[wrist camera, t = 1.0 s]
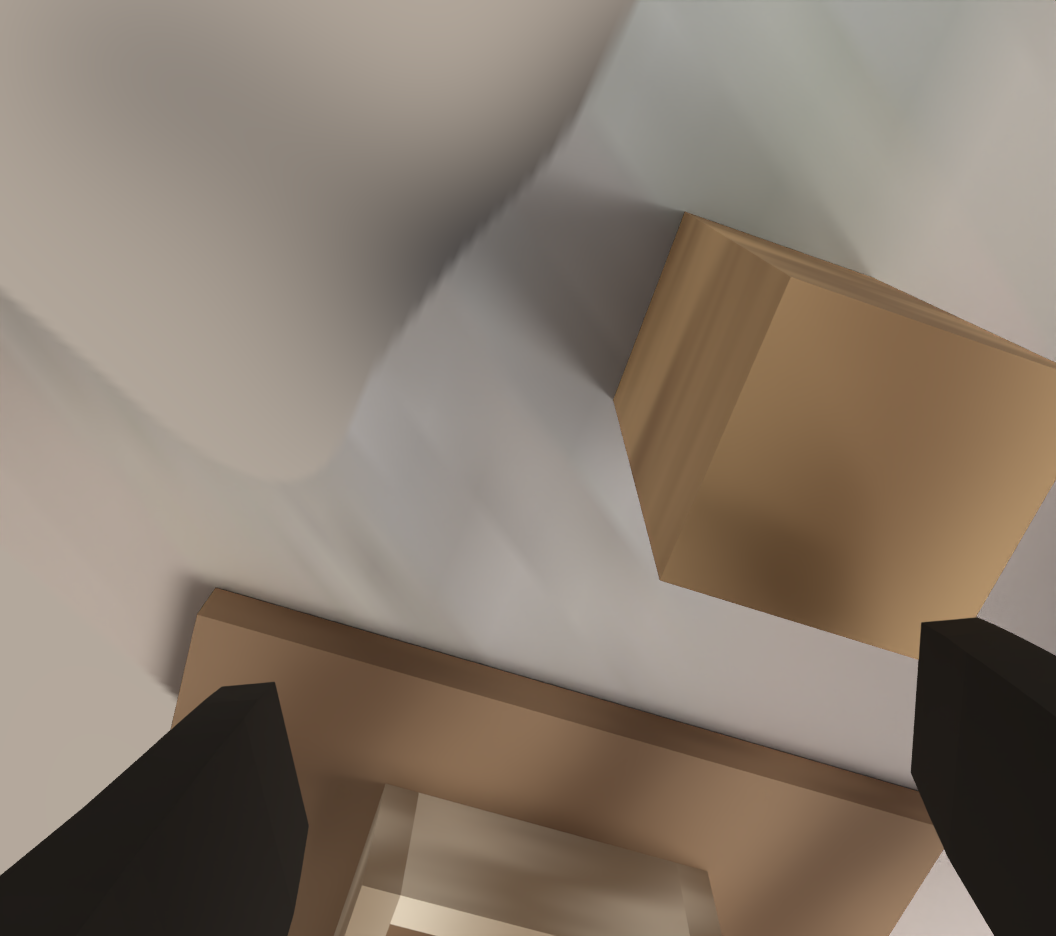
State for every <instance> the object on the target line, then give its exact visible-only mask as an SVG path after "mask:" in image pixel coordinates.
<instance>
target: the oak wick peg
mask: <svg viewBox="0 0 1056 936" xmlns="http://www.w3.org/2000/svg"><path fill="white" fill-rule="evenodd" d="M613 401H614V405H615V409H616V413H617V417H618V420H619V424H620V428H621V432H622V436H623V440H624V444H625V448H626V451H627V455H628V459H629V463H630V467H631V471H632V475H633V478H634V482H635V486H636V490H637V494H638V498H639V502H640V506H641V509H642V513H643V517H644V521H645V525H646V529H647V533H648V536H649V540H650V544H651V548H652V552H653V556H654V560H655V564H656V567H657V571H658V575H659V579H660V580H661V581H664V582H667V583H670V584H674V585H677V586H680V587H683V588H687V589H690V590H693V591H696V592H700V593H703V594H706V595H709V596H713V597H716V598H719V599H723V600H726V601H729V602H732V603H736V604H739V605H742V606H745V607H749V608H752V609H755V610H758V611H762V612H765V613H768V614H771V615H775V616H778V617H781V618H784V619H788V620H791V621H794V622H797V623H801V624H804V625H807V626H810V627H814V628H817V629H820V630H823V631H827V632H830V633H833V634H836V635H840V636H843V637H846V638H849V639H853V640H856V641H859V642H862V643H866V644H869V645H872V646H876V647H879V648H882V649H885V650H889V651H892V652H895V653H898V654H902V655H905V656H908V657H911V658H915V659H918V660H919V647H920V632H921V622H931V621H942V620H953V619H964V618H975V617H976V616H977V614H978V612H979V611H980V609H981V607H982V605H983V604H984V602H985V600H986V598H987V597H988V595H989V593H990V592H991V590H992V588H993V586H994V585H995V583H996V581H997V580H998V578H999V576H1000V574H1001V573H1002V571H1003V569H1004V568H1005V566H1006V564H1007V562H1008V561H1009V559H1010V557H1011V556H1012V554H1013V552H1014V550H1015V549H1016V547H1017V545H1018V543H1019V542H1020V540H1021V538H1022V537H1023V535H1024V533H1025V531H1026V530H1027V528H1028V526H1029V525H1030V523H1031V521H1032V519H1033V518H1034V516H1035V514H1036V513H1037V511H1038V509H1039V507H1040V506H1041V504H1042V502H1043V501H1044V499H1045V497H1046V495H1047V494H1048V492H1049V490H1050V488H1051V487H1052V485H1053V483H1054V482H1055V480H1056V363H1055V362H1053V361H1051V360H1049V359H1046V358H1044V357H1042V356H1040V355H1038V354H1036V353H1034V352H1031V351H1029V350H1027V349H1025V348H1023V347H1021V346H1019V345H1016V344H1014V343H1012V342H1010V341H1008V340H1006V339H1004V338H1001V337H999V336H997V335H995V334H993V333H991V332H988V331H986V330H984V329H982V328H980V327H978V326H976V325H973V324H971V323H969V322H967V321H965V320H963V319H961V318H958V317H956V316H954V315H952V314H950V313H948V312H946V311H943V310H941V309H939V308H937V307H935V306H933V305H931V304H928V303H926V302H924V301H922V300H920V299H918V298H915V297H913V296H911V295H909V294H907V293H905V292H903V291H900V290H898V289H896V288H894V287H892V286H890V285H888V284H885V283H883V282H881V281H879V280H877V279H875V278H872V277H869V276H867V275H864V274H861V273H858V272H855V271H852V270H850V269H847V268H844V267H841V266H838V265H835V264H832V263H830V262H827V261H824V260H821V259H818V258H815V257H813V256H810V255H807V254H804V253H801V252H798V251H795V250H793V249H790V248H787V247H784V246H781V245H778V244H776V243H773V242H770V241H767V240H764V239H761V238H758V237H756V236H753V235H750V234H747V233H744V232H741V231H739V230H736V229H733V228H730V227H727V226H724V225H721V224H719V223H716V222H713V221H710V220H707V219H704V218H702V217H699V216H696V215H693V214H690V213H687V212H685V213H684V215H683V218H682V221H681V223H680V226H679V228H678V231H677V234H676V236H675V239H674V242H673V244H672V247H671V249H670V252H669V255H668V257H667V260H666V263H665V265H664V268H663V270H662V273H661V276H660V278H659V281H658V284H657V286H656V289H655V291H654V294H653V297H652V299H651V302H650V305H649V307H648V310H647V312H646V315H645V318H644V320H643V323H642V326H641V328H640V331H639V334H638V336H637V339H636V341H635V344H634V347H633V349H632V352H631V355H630V357H629V360H628V362H627V365H626V368H625V370H624V373H623V376H622V378H621V381H620V383H619V386H618V389H617V391H616V394H615V397H614V399H613Z"/></svg>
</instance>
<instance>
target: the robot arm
mask: <svg viewBox="0 0 1056 936" xmlns="http://www.w3.org/2000/svg"><path fill="white" fill-rule="evenodd" d="M911 774H912V777H913V779H914V781H915V784H916V786H917V788H918V791H919V793H920V796H921V798H922V800H923V803H924V805H925V807H926V810H927V812H928V814H929V817H930V819H931V821H932V824H933V826H934V828H935V830H936V832H937V834H938V837H939V839H940V841H941V843H942V845H943V848H944V850H945V852H946V854H947V856H948V858H949V860H950V862H951V863H952V865H953V867H954V869H955V870H956V872H957V874H958V876H959V877H960V879H961V881H962V882H963V884H964V886H965V887H966V889H967V891H968V892H969V894H970V896H971V897H972V899H973V901H974V903H975V904H976V906H977V908H978V909H979V911H980V913H981V914H982V916H983V918H984V919H985V921H986V923H987V924H988V926H989V928H990V929H991V931H992V933H993V934H994V936H1056V656H1055V655H1053V654H1051V653H1049V652H1048V651H1046V650H1044V649H1042V648H1040V647H1038V646H1036V645H1034V644H1032V643H1030V642H1028V641H1026V640H1024V639H1022V638H1021V637H1019V636H1017V635H1015V634H1013V633H1011V632H1008V631H1006V630H1004V629H1002V628H1000V627H998V626H996V625H994V624H992V623H989V622H987V621H985V620H982V619H980V618H978V617H975V618H964V619H953V620H942V621H931V622H921V632H920V647H919V661H918V676H917V690H916V705H915V720H914V734H913V749H912V763H911ZM308 828H309V824H308V820H307V816H306V812H305V807H304V803H303V799H302V795H301V790H300V786H299V782H298V778H297V773H296V769H295V765H294V761H293V756H292V752H291V748H290V744H289V739H288V735H287V731H286V727H285V722H284V718H283V714H282V710H281V705H280V701H279V697H278V693H277V688H276V684H275V682H266V683H255V684H244V685H233V686H223V687H220V688H219V689H218V690H217V691H215V692H214V693H213V694H211V695H210V696H209V697H208V698H206V699H205V700H204V701H203V702H202V703H200V704H199V705H198V706H197V707H196V708H195V709H194V710H192V711H191V712H190V713H189V714H188V715H187V716H186V717H184V718H183V719H182V720H181V721H180V722H179V723H178V724H177V725H176V726H174V727H173V728H172V729H171V730H170V731H169V732H168V733H167V734H166V735H164V736H163V737H162V738H161V739H160V740H159V741H158V742H157V743H156V744H154V745H153V746H152V747H151V748H150V749H149V750H148V751H147V752H146V753H144V754H143V756H141V757H140V758H139V759H138V760H137V761H135V762H134V763H133V764H132V765H131V766H130V767H129V768H128V769H126V770H125V771H124V772H123V773H122V774H121V775H120V776H118V777H117V778H116V779H115V780H114V781H113V782H112V783H111V784H109V785H108V786H107V787H106V788H105V789H104V790H103V791H102V792H100V793H99V794H98V795H97V796H96V797H95V798H94V799H92V800H91V801H90V802H89V803H88V804H87V805H86V806H85V807H83V808H82V809H81V810H80V811H79V812H77V813H76V814H75V815H74V816H72V817H71V818H70V819H69V820H68V821H66V822H65V823H64V824H63V825H62V826H60V827H59V828H58V829H57V830H55V831H54V832H53V833H52V834H51V835H49V836H48V837H47V838H46V839H44V840H43V841H42V842H41V843H40V844H38V845H37V846H36V847H35V848H33V849H32V850H31V851H30V852H29V853H27V854H26V855H25V856H24V857H22V858H21V859H20V860H19V861H18V862H16V863H15V864H14V865H13V866H12V867H10V868H9V869H8V870H7V871H5V872H4V873H3V874H2V875H0V936H288V933H289V929H290V926H291V922H292V919H293V915H294V911H295V905H296V900H297V894H298V889H299V883H300V878H301V872H302V866H303V860H304V853H305V847H306V841H307V834H308Z"/></svg>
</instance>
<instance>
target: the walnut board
mask: <svg viewBox="0 0 1056 936" xmlns="http://www.w3.org/2000/svg"><path fill="white" fill-rule="evenodd" d="M266 682H275V684H276V688H277V693H278V697H279V701H280V705H281V710H282V714H283V718H284V722H285V727H286V731H287V735H288V739H289V744H290V748H291V752H292V756H293V761H294V765H295V769H296V773H297V778H298V782H299V786H300V790H301V795H302V799H303V803H304V807H305V812H306V816H307V820H308V824H309V828H308V834H307V841H306V847H305V853H304V860H303V866H302V872H301V878H300V883H299V889H298V894H297V900H296V905H295V911H294V915H293V919H292V922H291V926H290V929H289V933H288V936H889V935H890V933H891V931H892V930H893V928H894V927H895V925H896V923H897V922H898V920H899V919H900V917H901V916H902V914H903V912H904V911H905V909H906V908H907V906H908V905H909V903H910V901H911V900H912V898H913V897H914V895H915V893H916V892H917V890H918V889H919V887H920V886H921V884H922V882H923V881H924V879H925V878H926V876H927V875H928V873H929V871H930V870H931V868H932V867H933V865H934V863H935V862H936V860H937V859H938V857H939V856H940V854H941V852H942V851H943V849H944V848H943V845H942V843H941V841H940V839H939V837H938V834H937V832H936V830H935V828H934V826H933V824H932V821H931V819H930V817H929V814H928V812H927V810H926V807H925V805H924V803H923V800H922V798H921V796H920V793H919V791H915V790H912V789H908V788H905V787H902V786H898V785H895V784H891V783H888V782H884V781H881V780H877V779H874V778H871V777H867V776H864V775H860V774H857V773H853V772H850V771H846V770H843V769H839V768H836V767H833V766H829V765H826V764H822V763H819V762H815V761H812V760H808V759H805V758H802V757H798V756H795V755H791V754H788V753H784V752H781V751H777V750H774V749H770V748H767V747H764V746H760V745H757V744H753V743H750V742H746V741H743V740H739V739H736V738H733V737H729V736H726V735H722V734H719V733H715V732H712V731H708V730H705V729H702V728H698V727H695V726H691V725H688V724H684V723H681V722H677V721H674V720H670V719H667V718H664V717H660V716H657V715H653V714H650V713H646V712H643V711H639V710H636V709H633V708H629V707H626V706H622V705H619V704H615V703H612V702H608V701H605V700H601V699H598V698H595V697H591V696H588V695H584V694H581V693H577V692H574V691H570V690H567V689H564V688H560V687H557V686H553V685H550V684H546V683H543V682H539V681H536V680H532V679H529V678H526V677H522V676H519V675H515V674H512V673H508V672H505V671H501V670H498V669H495V668H491V667H488V666H484V665H481V664H477V663H474V662H470V661H467V660H463V659H460V658H457V657H453V656H450V655H446V654H443V653H439V652H436V651H432V650H429V649H426V648H422V647H419V646H415V645H412V644H408V643H405V642H401V641H398V640H394V639H391V638H388V637H384V636H381V635H377V634H374V633H370V632H367V631H363V630H360V629H357V628H353V627H350V626H346V625H343V624H339V623H336V622H332V621H329V620H326V619H322V618H319V617H315V616H312V615H308V614H305V613H301V612H298V611H294V610H291V609H288V608H284V607H281V606H277V605H274V604H270V603H267V602H263V601H260V600H257V599H253V598H250V597H246V596H243V595H239V594H236V593H232V592H229V591H225V590H222V589H219V588H215V589H214V591H213V592H212V594H211V595H210V597H209V598H208V600H207V601H206V602H205V604H204V605H203V607H202V608H201V610H200V611H199V612H198V614H197V617H196V621H195V626H194V630H193V634H192V639H191V643H190V647H189V652H188V656H187V660H186V665H185V669H184V674H183V678H182V682H181V687H180V691H179V695H178V700H177V704H176V709H175V713H174V717H173V721H172V726H171V729H172V728H173V727H174V726H176V725H177V724H178V723H179V722H180V721H181V720H182V719H183V718H184V717H186V716H187V715H188V714H189V713H190V712H191V711H192V710H194V709H195V708H196V707H197V706H198V705H199V704H200V703H202V702H203V701H204V700H205V699H206V698H208V697H209V696H210V695H211V694H213V693H214V692H215V691H217V690H218V689H219V688H220V687H223V686H233V685H244V684H255V683H266Z"/></svg>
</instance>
